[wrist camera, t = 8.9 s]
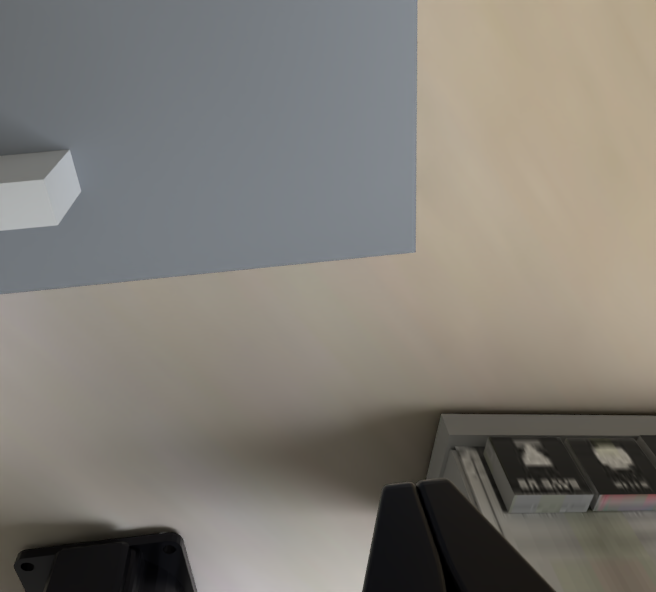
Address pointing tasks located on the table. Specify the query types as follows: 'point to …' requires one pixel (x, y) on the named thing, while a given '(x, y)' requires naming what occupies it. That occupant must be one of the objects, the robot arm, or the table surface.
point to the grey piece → (202, 136)
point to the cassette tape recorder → (561, 491)
